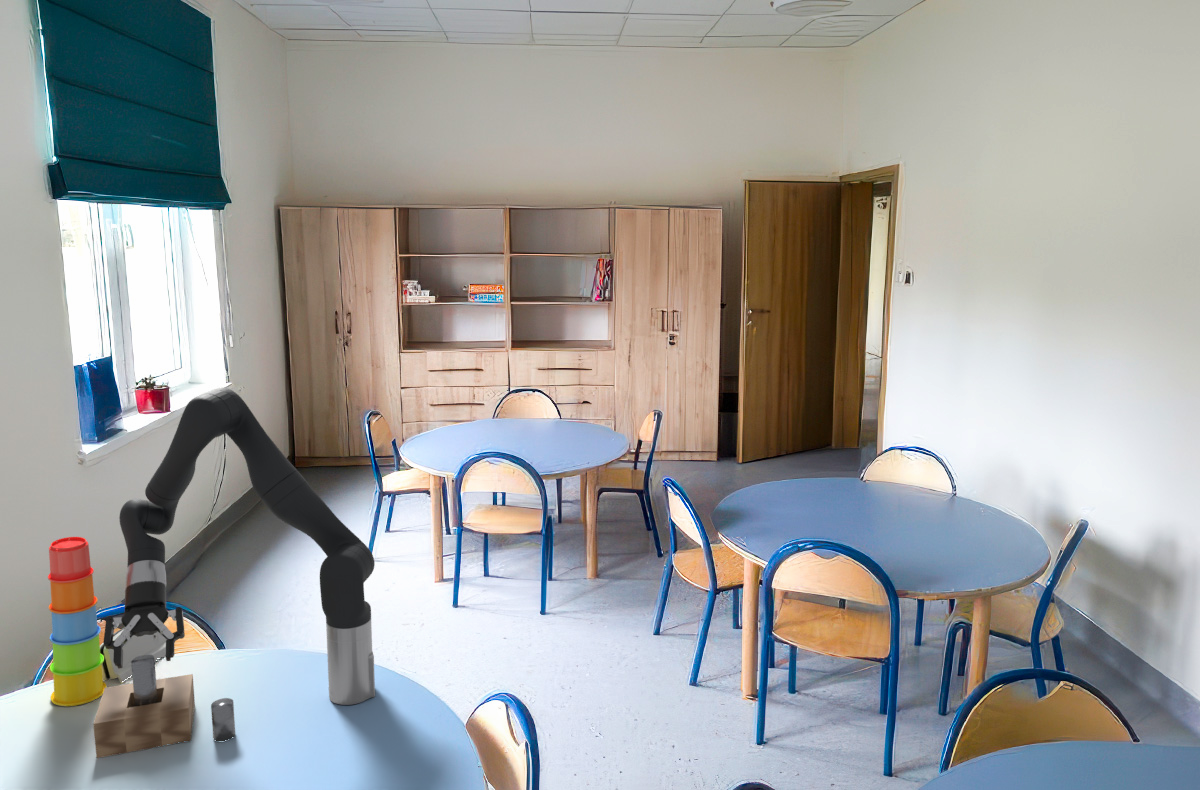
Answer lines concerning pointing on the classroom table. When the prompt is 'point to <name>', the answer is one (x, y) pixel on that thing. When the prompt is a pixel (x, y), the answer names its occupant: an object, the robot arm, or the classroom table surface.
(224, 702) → the short pin
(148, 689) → the long pin
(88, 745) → the classroom table surface
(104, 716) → the bore block
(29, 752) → the classroom table surface
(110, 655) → the grey curved housing
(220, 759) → the classroom table surface
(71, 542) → the stacking cups
